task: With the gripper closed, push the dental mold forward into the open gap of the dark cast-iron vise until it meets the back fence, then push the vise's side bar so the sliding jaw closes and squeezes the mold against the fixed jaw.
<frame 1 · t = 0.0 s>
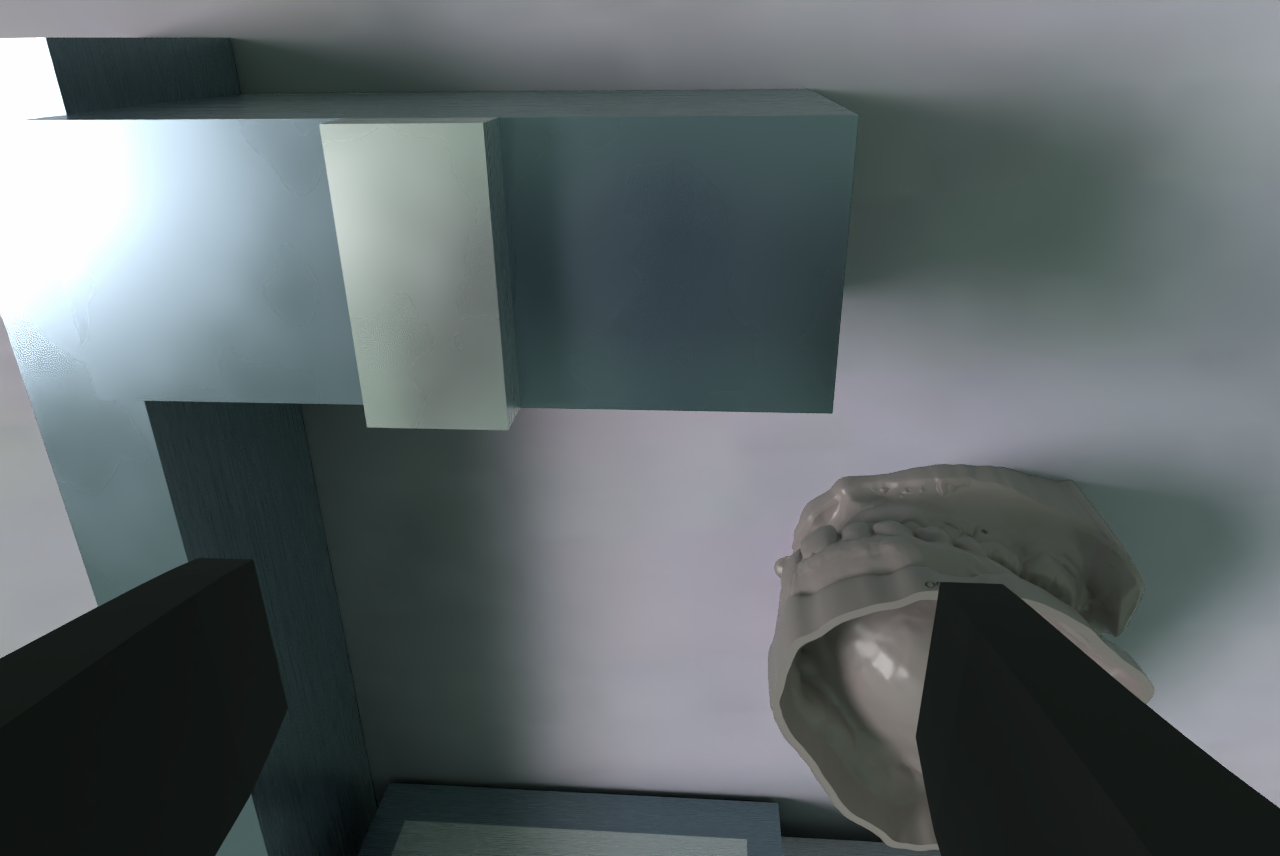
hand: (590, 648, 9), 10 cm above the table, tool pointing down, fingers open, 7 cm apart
dental mold: (904, 562, 20), on the table
vise bed: (651, 577, 21), on the table
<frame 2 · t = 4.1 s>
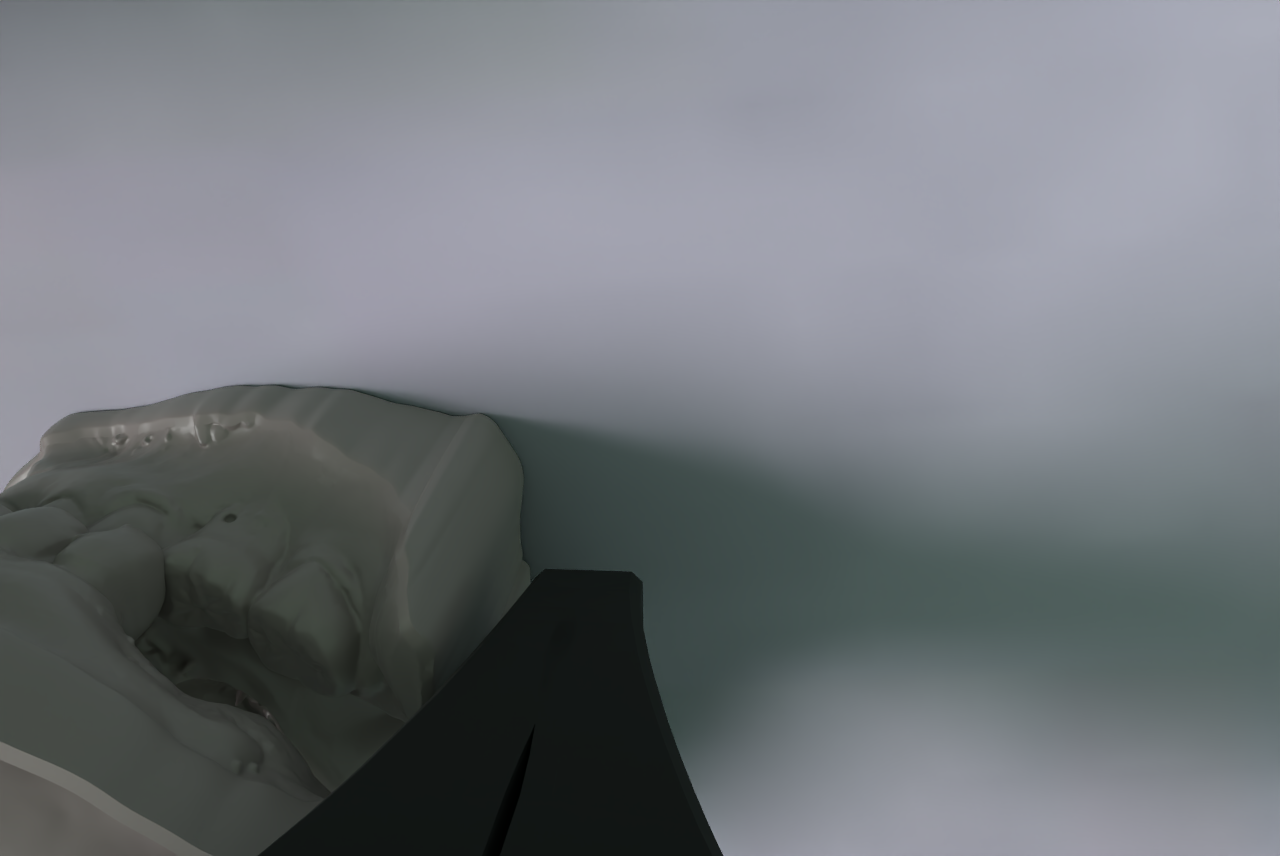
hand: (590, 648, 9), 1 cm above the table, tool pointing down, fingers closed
dental mold: (256, 579, 11), on the table, touching gripper
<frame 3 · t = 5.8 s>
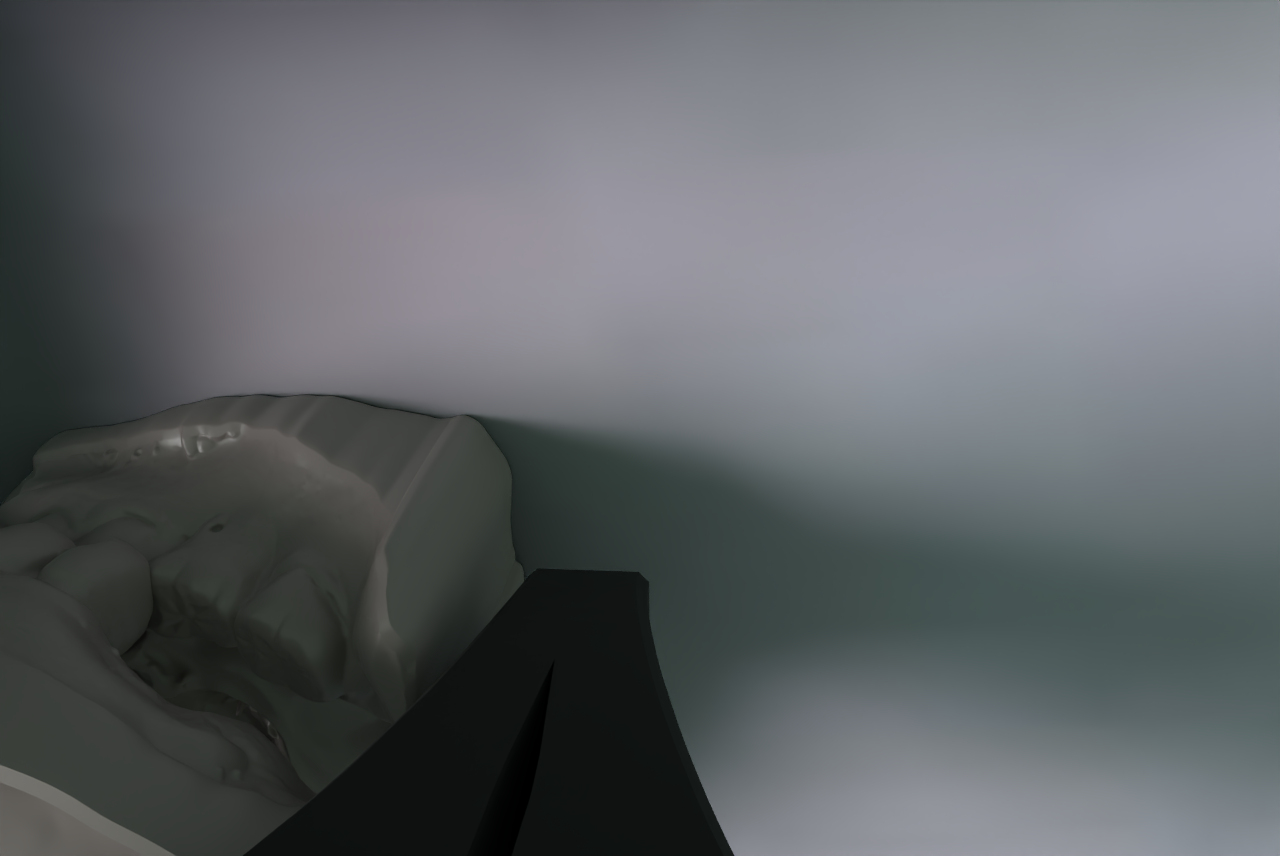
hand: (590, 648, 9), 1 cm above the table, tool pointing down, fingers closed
dental mold: (253, 589, 11), on the table, touching gripper
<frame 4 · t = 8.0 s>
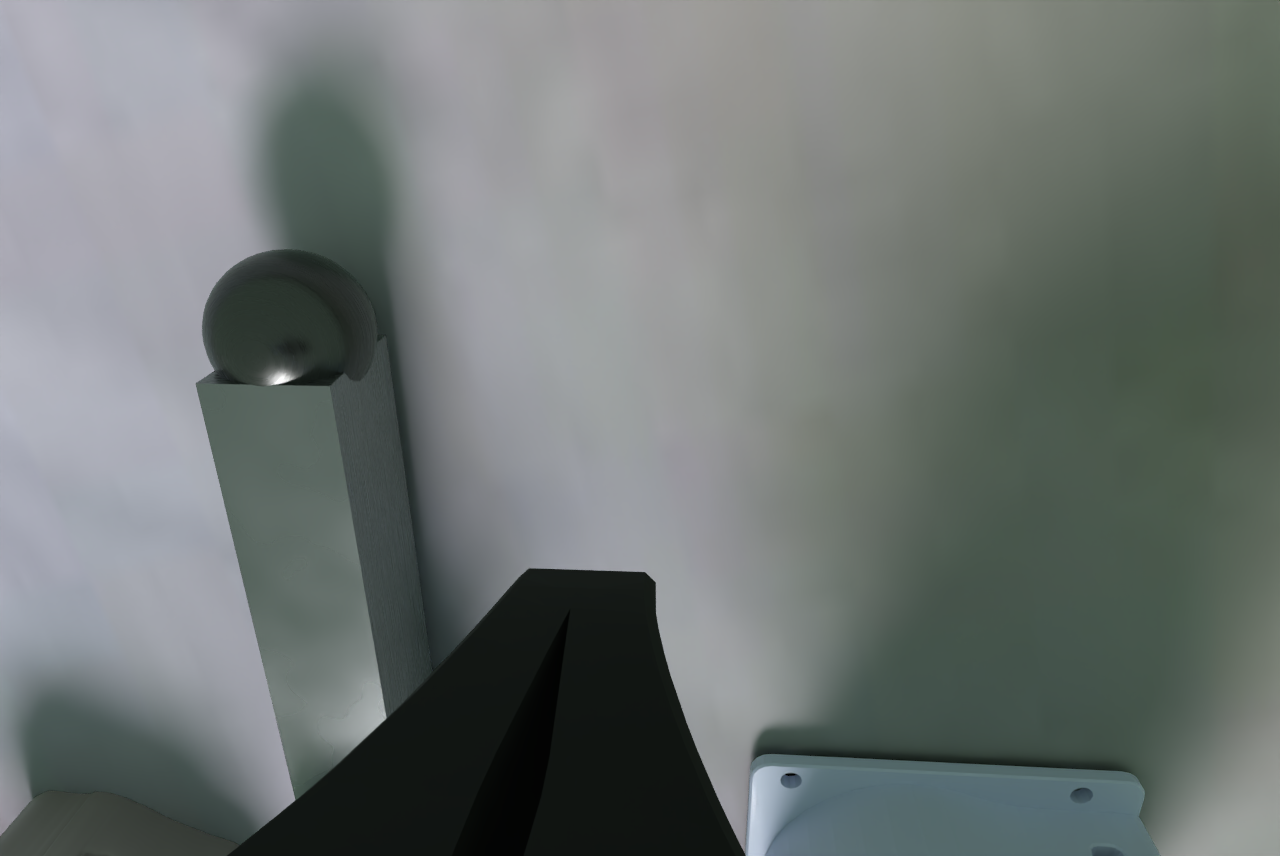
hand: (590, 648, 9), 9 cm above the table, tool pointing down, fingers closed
sliding jaw: (351, 805, 19), point 3 cm above the table, slide at 0.0 cm
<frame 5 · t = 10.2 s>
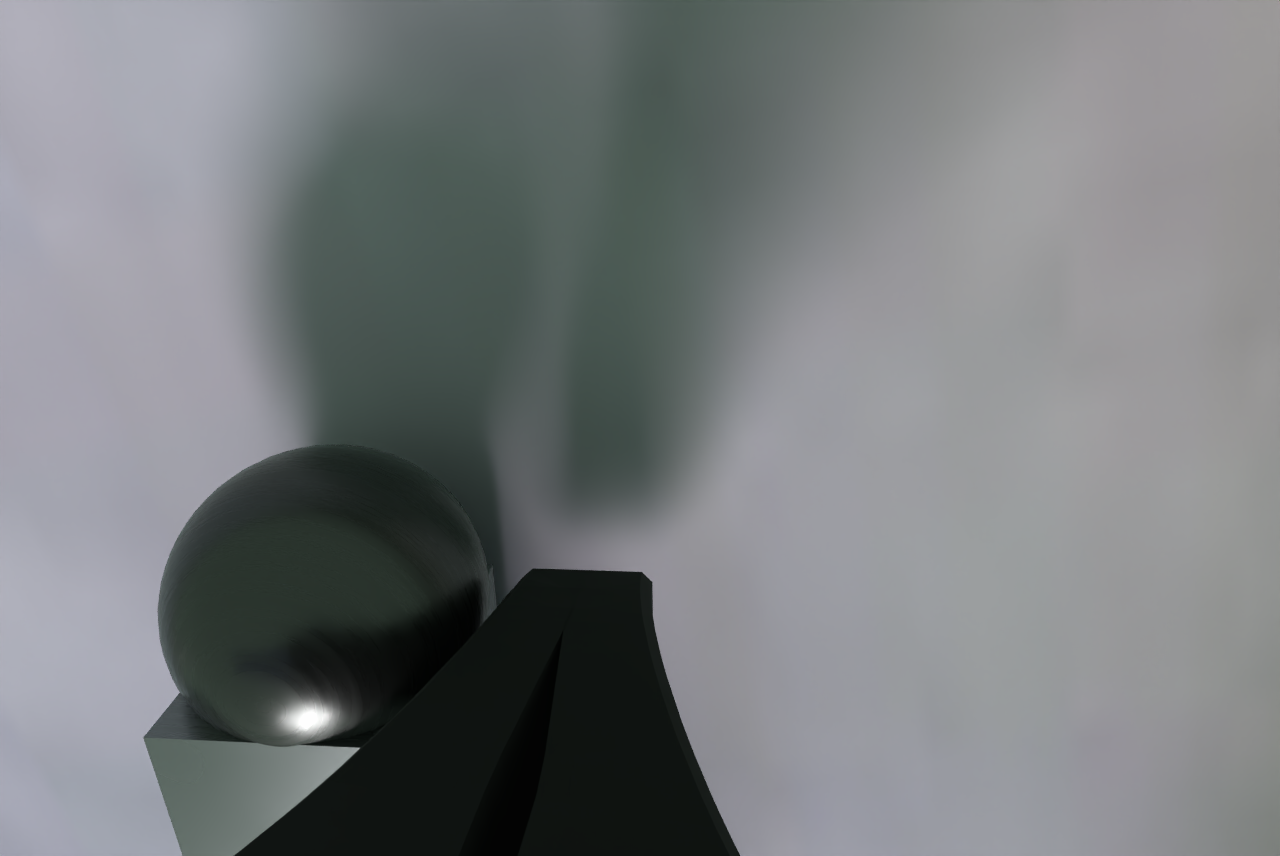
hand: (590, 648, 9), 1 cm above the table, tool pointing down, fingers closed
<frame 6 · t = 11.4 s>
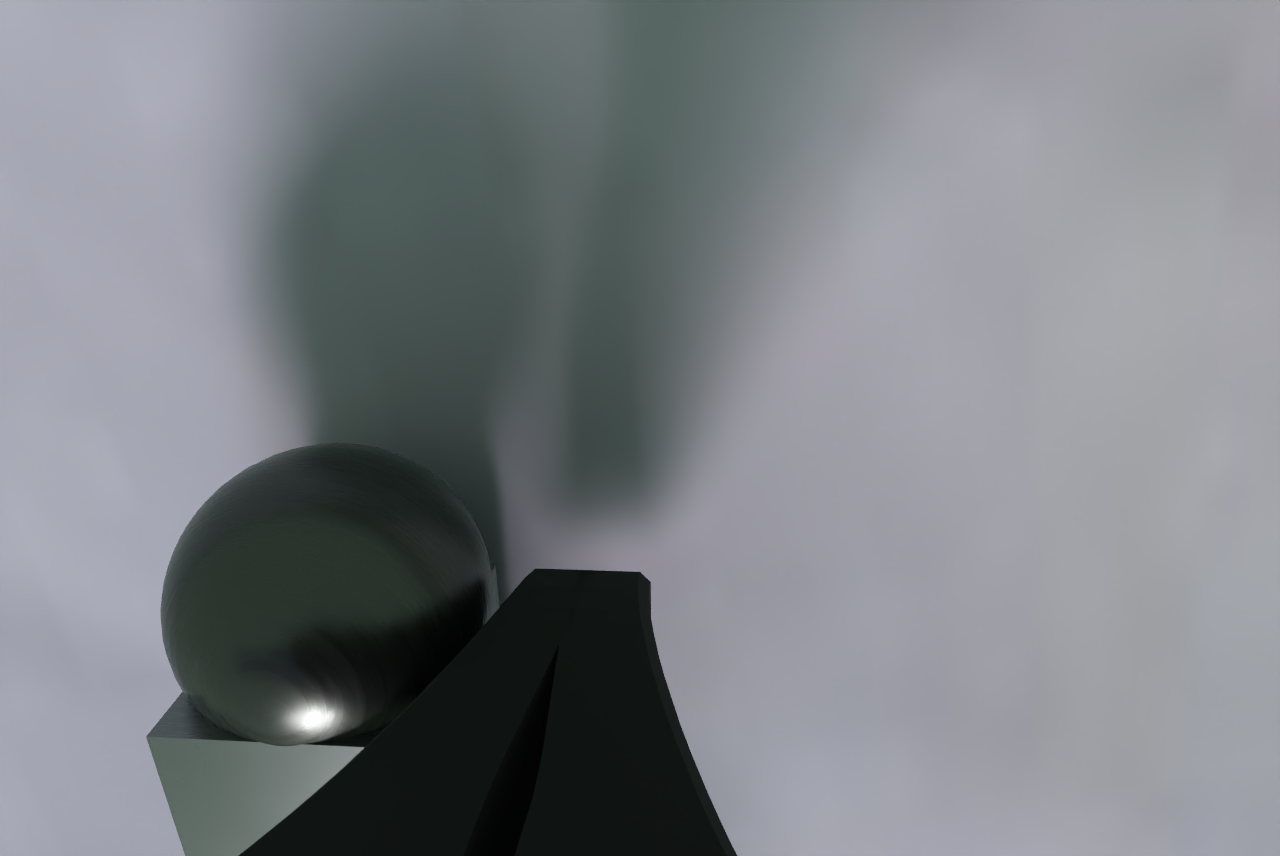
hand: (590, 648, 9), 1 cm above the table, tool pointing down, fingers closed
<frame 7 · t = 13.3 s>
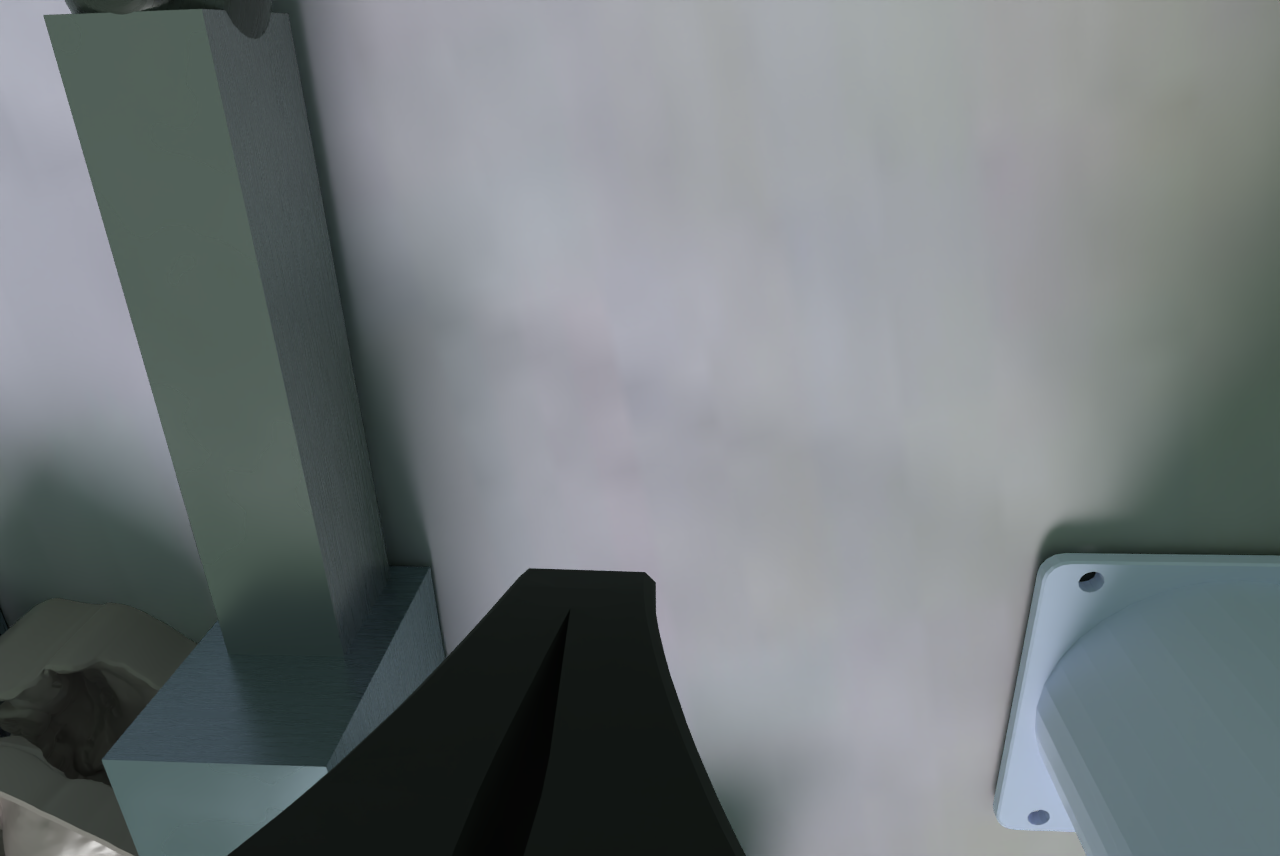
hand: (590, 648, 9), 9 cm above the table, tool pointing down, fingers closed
dental mold: (159, 708, 23), on the table
sliding jaw: (273, 591, 17), point 3 cm above the table, slide at 6.6 cm
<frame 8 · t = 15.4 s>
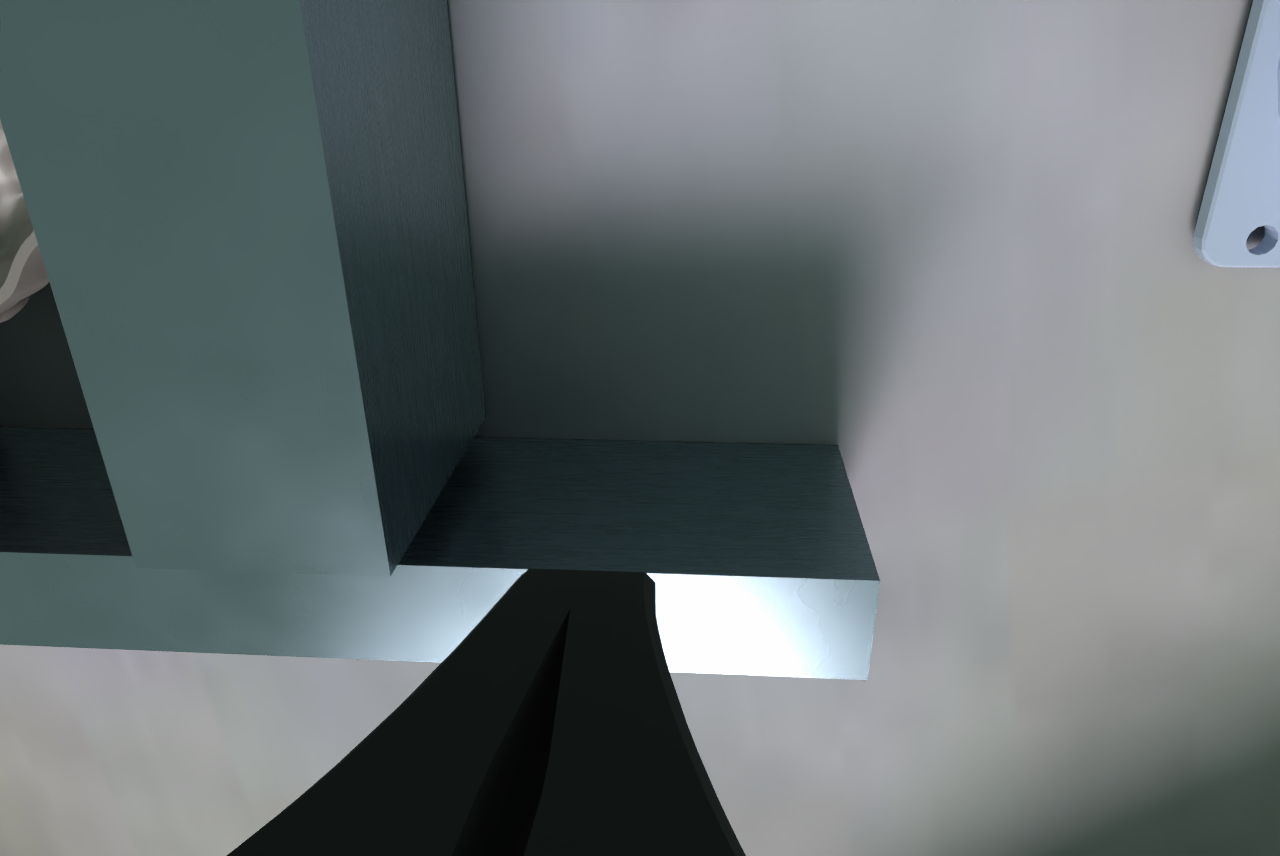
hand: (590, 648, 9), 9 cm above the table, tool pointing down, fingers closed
dental mold: (53, 121, 17), on the table
vise bed: (211, 38, 16), on the table
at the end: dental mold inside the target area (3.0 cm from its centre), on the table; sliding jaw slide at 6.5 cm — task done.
